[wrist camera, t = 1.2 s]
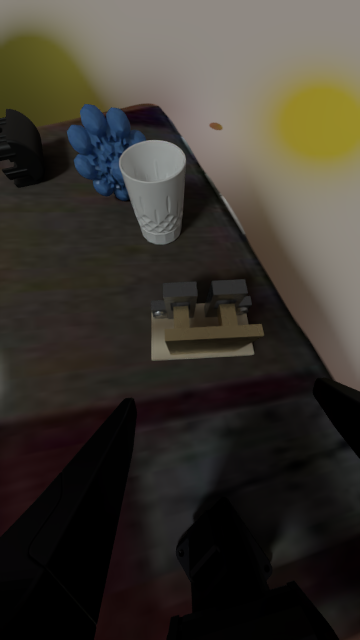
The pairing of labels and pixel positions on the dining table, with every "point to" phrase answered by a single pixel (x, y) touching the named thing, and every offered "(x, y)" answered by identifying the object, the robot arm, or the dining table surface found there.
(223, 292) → the grey two-prong bracket
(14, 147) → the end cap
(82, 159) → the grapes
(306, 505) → the dining table surface
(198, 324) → the birch board
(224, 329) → the tan notched block
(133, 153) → the white cup
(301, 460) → the dining table surface
